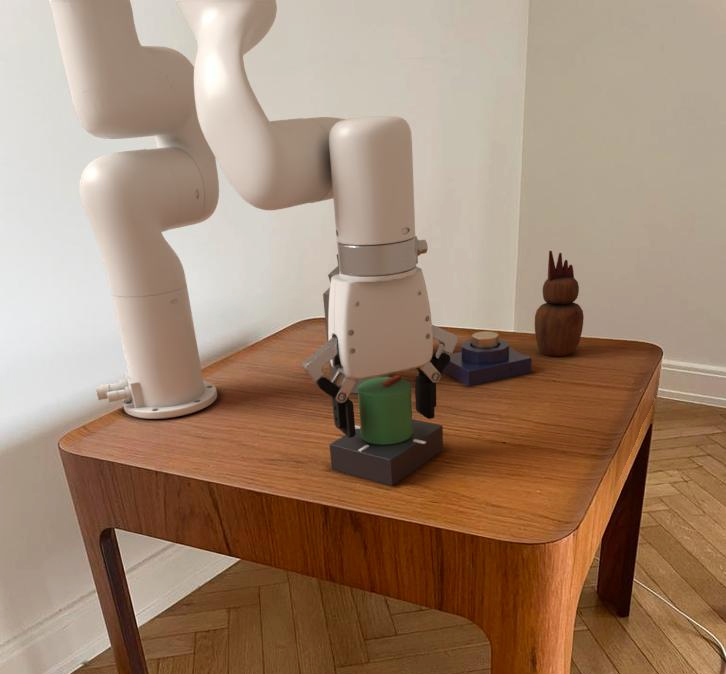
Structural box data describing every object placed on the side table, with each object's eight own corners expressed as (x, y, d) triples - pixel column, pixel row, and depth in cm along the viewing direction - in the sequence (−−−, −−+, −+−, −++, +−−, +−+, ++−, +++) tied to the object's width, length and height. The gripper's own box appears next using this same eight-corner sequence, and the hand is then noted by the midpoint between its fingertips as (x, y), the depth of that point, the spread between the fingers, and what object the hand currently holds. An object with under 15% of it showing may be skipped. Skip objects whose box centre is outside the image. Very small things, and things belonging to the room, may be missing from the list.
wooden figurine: (535, 360, 108) (539, 254, 102) (532, 348, 114) (536, 246, 107) (583, 359, 108) (591, 252, 101) (577, 347, 113) (584, 244, 106)
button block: (468, 386, 101) (468, 358, 99) (440, 370, 107) (439, 343, 105) (531, 373, 104) (532, 345, 102) (499, 358, 110) (500, 331, 109)
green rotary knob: (393, 448, 77) (390, 396, 74) (350, 438, 80) (346, 387, 78) (422, 429, 81) (421, 379, 78) (380, 420, 84) (377, 371, 81)
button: (480, 352, 102) (480, 340, 101) (467, 346, 105) (467, 334, 104) (503, 348, 103) (503, 335, 102) (489, 341, 106) (489, 329, 105)
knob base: (399, 488, 76) (398, 460, 74) (325, 467, 81) (322, 441, 80) (450, 451, 83) (449, 425, 81) (378, 434, 88) (377, 410, 87)
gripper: (437, 242, 78) (441, 397, 86) (280, 265, 72) (299, 429, 80) (475, 251, 72) (475, 418, 80) (305, 278, 66) (323, 454, 74)
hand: (386, 423), depth 80 cm, fingers open, 8 cm apart
